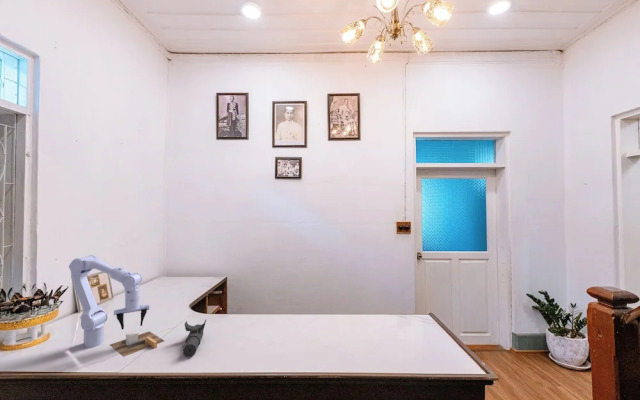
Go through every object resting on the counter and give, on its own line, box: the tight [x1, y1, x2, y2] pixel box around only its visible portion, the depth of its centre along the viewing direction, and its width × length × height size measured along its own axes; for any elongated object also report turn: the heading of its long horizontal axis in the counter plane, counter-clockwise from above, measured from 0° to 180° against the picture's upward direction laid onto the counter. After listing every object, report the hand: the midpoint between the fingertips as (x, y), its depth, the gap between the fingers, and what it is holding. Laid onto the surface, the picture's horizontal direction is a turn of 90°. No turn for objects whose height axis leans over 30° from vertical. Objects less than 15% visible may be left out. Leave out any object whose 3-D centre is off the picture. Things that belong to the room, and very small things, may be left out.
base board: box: [109, 331, 165, 358], centre depth 140 cm, size 18×18×2 cm
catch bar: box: [146, 337, 158, 349], centre depth 138 cm, size 9×1×2 cm, turn 53°
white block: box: [125, 330, 139, 346], centre depth 139 cm, size 4×4×5 cm
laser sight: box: [182, 319, 207, 358], centre depth 140 cm, size 10×22×10 cm, turn 14°
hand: (132, 326), depth 139 cm, fingers open, 7 cm apart
